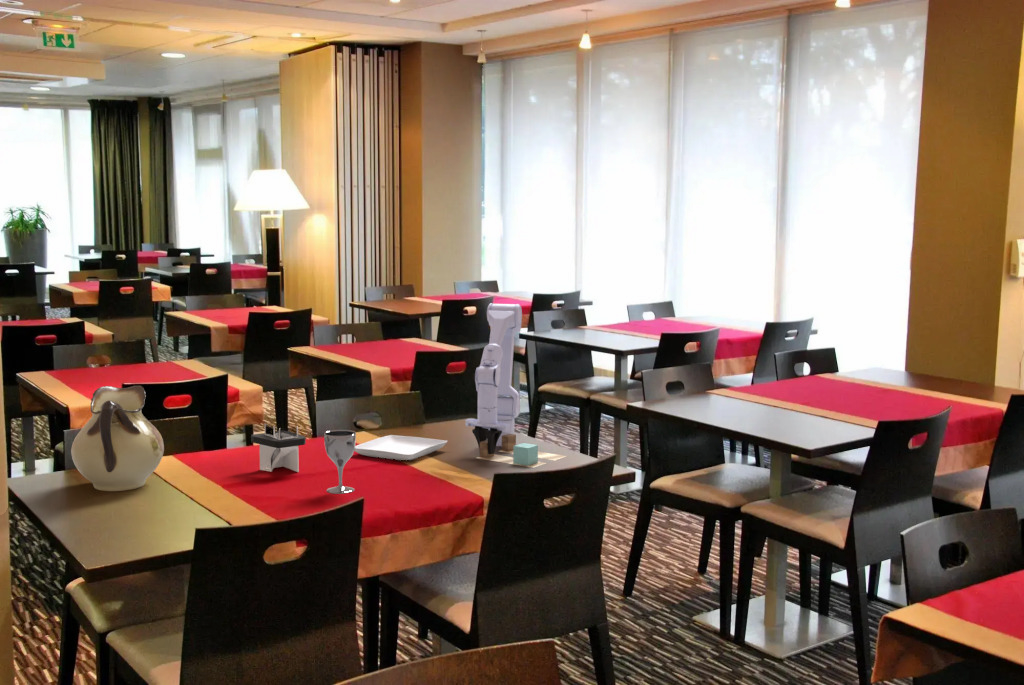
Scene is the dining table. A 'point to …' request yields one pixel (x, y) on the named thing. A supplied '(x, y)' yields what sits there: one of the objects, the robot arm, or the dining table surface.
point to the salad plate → (399, 447)
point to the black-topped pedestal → (278, 448)
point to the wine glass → (340, 453)
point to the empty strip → (543, 455)
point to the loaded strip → (499, 456)
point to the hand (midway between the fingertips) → (487, 453)
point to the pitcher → (117, 441)
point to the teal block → (525, 454)
